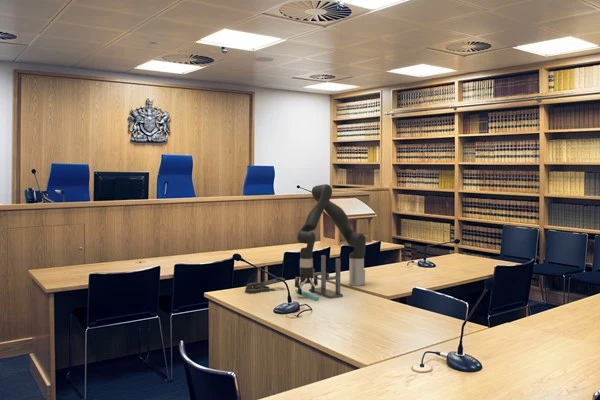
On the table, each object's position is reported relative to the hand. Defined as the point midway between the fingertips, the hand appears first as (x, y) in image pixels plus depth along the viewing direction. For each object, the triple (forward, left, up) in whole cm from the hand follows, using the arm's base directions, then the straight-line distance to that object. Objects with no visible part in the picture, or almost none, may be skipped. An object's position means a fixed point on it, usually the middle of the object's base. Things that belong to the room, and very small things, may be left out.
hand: (306, 293), depth 306 cm
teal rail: (0, 0, -2) cm, 2 cm away
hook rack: (-14, 0, -2) cm, 14 cm away
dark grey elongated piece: (+12, -27, -2) cm, 30 cm away
